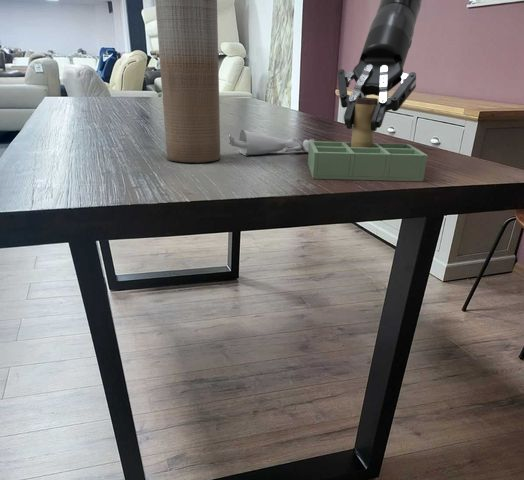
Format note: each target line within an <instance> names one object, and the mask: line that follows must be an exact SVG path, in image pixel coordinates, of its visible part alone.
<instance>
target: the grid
mask: <svg viewBox="0 0 524 480" xmlns="http://www.w3.org/2000/svg"><path fill="white" fill-rule="evenodd" d="M308 141H309V140H308ZM428 157H429V155H428V154H427V153H425V152H423V151H422V150H420V149H418V148H416V147H415V146H413V145H412V144H410V143H401V142H399V143H397V142H396V143H395V142H372V148H366V147H351V141H321V140H320V141H319V140H317V141H316V140H314V141H309V152H308V153H307V167H308V169H309V172H310V175H311V178H312V180H344V181H346V180H347V181H348V180H349V181H383V182H384V181H385V182H386V181H387V182H388V181H389V182H424V179H425V173H426V168H427V162H428Z"/></svg>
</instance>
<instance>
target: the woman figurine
mask: <svg viewBox="0 0 524 480" xmlns="http://www.w3.org/2000/svg"><path fill="white" fill-rule="evenodd" d="M309 141H315V139H313V138H310V139H309V140H308V139H307V138H306V139H305V140H303V142H302V141H300V140H299V139H297V138H296V137H293V136H291V137H289V139H283V138H280V137H277V136H271V135H267V134H263V133H258V132H254V131H249V130H244V129H241V130H240V132H239V139H238V140H236V139H235V138H234V135H232V134H231V133H230V134H229V135H228V144H229V145H231V146H232V147H236V148H238V149H239V152H240V154H242V155H243V156H244V155H245V156H244V157H249V155H250V156H258V155H265V154H271V153H278V152H280V151H283V150H284V153H288V152H301V151H303V152H304V153H307V154H308V152H309Z"/></svg>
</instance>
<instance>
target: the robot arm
mask: <svg viewBox="0 0 524 480" xmlns="http://www.w3.org/2000/svg"><path fill="white" fill-rule="evenodd" d="M422 1H423V0H380V1H379V4H378V8H377V11H376V14H375V16H374V18H373V20H372V22H371V24H370V26H369V30H368V33H367V36H366V39H365V42H364V45H363V48H362V51H361V54H360V57H359V60H358V63H357V64H356V65H355V66H354V68H353V70H350V71H346V72H345V69H343V68H341V69H339V70H338V71H337V82H338V92H339V93H338V94H339V100H340V106H341V108H343V109H345V111H344V114H343V121H344V126H346V129H347V130H348V129H349V130H353V121H354V111H355V102H356V98H359V97H365V98H368V96H371V95H374V96H378V103H377V104H376V108H375V111H374V114H373V117H372V120H371V130H372V131H374V132H377V129H380V128H381V127H382V126H383V123H384V119H385V116H386V114H387V112H388V111H392V112H397V111H399V109H400V108H401V107H402V106H403V104H404V103H405V102H406V100H407V99H408V98H409V97H410V95H411V94H412V93H413V92H414V91H415V89H416V87H417V73H416V72H415V71H411V72H410V73H407V72H404V66H405V64H406V61H407V57H408V55H409V50H410V49H411V46H412V42H413V37H414V33H415V26H416V23H417V21H418V17H419V13H420V10H421V7H422ZM353 80H354V81H355V84H354V88H353V90H352V92H351V94H348V88H349V87H350V85H351V84H352V81H353ZM399 83H400V85H399ZM397 85H399V86H398V87H397V88H396V90H395V91H394V92H393V93H392V95H391V96H390V97H389V91H391V90H392V89H393V88H395V87H396V86H397Z"/></svg>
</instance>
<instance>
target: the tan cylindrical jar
mask: <svg viewBox="0 0 524 480" xmlns="http://www.w3.org/2000/svg"><path fill="white" fill-rule="evenodd" d="M376 104H379V98H376V97H366V98H365V97H359V98H356V102H355V111H354V121H353V126H352V129H351V130H352V131H351V141H350V142H351V147H366V148H372V143H374V133H375V131H372V130H371V120H372V117H373V114H374V111H375V108H376Z"/></svg>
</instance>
